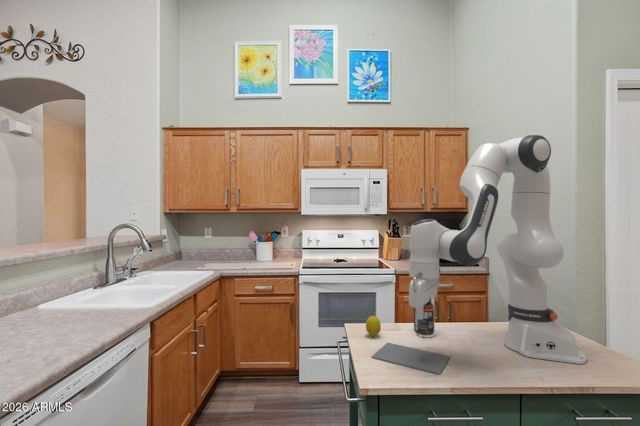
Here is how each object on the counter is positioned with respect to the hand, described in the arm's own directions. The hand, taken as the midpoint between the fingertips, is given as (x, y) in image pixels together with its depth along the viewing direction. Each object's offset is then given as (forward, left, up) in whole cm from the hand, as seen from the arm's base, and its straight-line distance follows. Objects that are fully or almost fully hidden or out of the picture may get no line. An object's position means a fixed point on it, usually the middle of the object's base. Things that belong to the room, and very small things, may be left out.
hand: (424, 315), depth 100 cm
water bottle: (+5, -24, -14) cm, 28 cm away
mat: (+4, -1, -14) cm, 15 cm away
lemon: (+22, -11, -14) cm, 28 cm away
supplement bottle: (0, 0, -5) cm, 5 cm away
